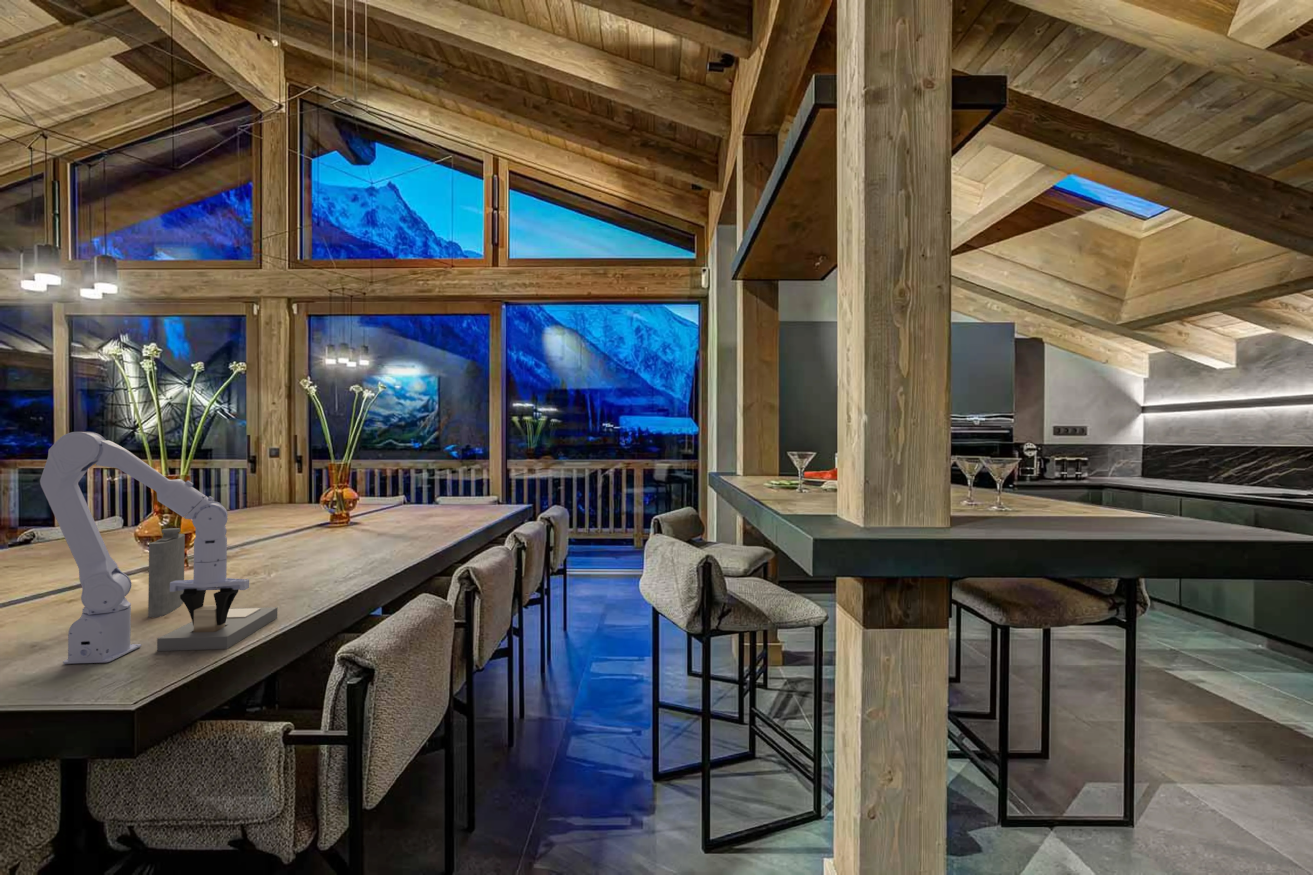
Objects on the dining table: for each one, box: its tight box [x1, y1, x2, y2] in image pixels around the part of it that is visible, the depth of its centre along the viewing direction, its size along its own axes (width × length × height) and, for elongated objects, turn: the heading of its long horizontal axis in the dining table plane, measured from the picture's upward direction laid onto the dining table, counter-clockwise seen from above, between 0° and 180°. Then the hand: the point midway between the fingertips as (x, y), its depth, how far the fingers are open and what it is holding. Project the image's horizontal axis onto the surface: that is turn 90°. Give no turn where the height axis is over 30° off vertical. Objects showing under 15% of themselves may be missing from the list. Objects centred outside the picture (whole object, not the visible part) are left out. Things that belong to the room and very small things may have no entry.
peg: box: [194, 604, 225, 632], centre depth 133 cm, size 4×4×7 cm
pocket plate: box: [156, 606, 278, 652], centre depth 137 cm, size 22×13×3 cm, turn 8°
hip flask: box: [147, 527, 186, 618], centre depth 156 cm, size 16×4×20 cm, turn 21°
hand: (209, 624), depth 133 cm, fingers closed on peg, 4 cm apart
